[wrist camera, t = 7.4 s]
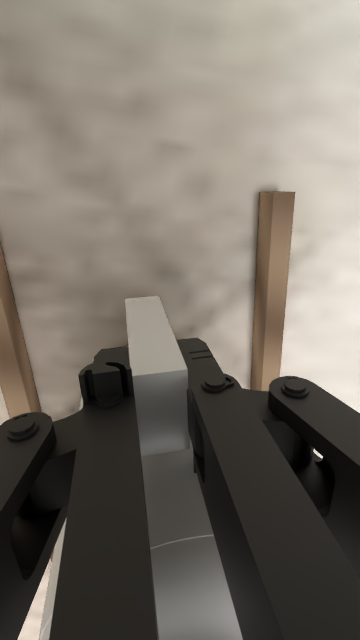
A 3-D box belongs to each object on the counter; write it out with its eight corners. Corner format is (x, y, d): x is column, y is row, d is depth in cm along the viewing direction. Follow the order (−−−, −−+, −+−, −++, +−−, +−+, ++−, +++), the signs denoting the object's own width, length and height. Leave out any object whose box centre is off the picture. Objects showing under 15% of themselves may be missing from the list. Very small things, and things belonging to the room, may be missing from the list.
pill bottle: (48, 397, 18) (-178, 1094, 4) (166, 306, 17) (364, 789, 3) (141, 474, 21) (188, 1014, 7) (244, 400, 20) (510, 848, 7)
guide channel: (-35, 207, 14) (-108, 217, 9) (279, 191, 16) (345, 193, 11) (64, 571, 23) (51, 666, 18) (256, 531, 25) (287, 608, 20)
